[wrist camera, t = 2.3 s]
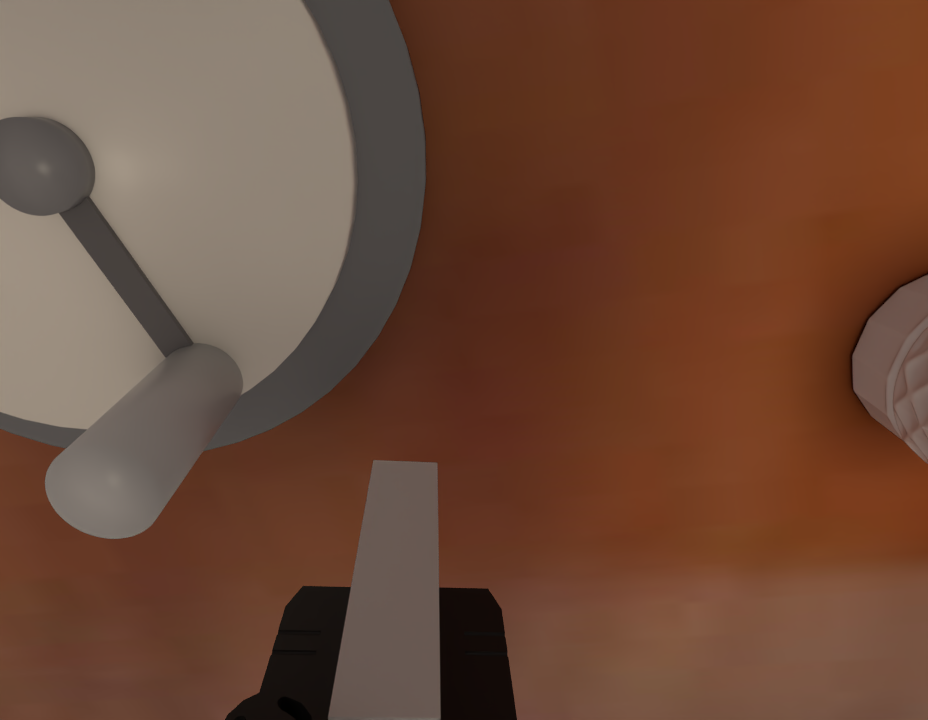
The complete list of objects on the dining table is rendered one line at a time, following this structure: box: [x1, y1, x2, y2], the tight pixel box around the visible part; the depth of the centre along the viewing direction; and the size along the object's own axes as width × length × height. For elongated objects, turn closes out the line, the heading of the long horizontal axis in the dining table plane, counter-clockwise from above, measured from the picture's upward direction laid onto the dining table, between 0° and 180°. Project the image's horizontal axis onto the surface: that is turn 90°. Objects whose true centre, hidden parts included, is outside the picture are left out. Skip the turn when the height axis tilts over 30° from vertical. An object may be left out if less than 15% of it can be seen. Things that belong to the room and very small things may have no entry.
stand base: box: [0, 0, 426, 451], centre depth 18 cm, size 20×20×2 cm
